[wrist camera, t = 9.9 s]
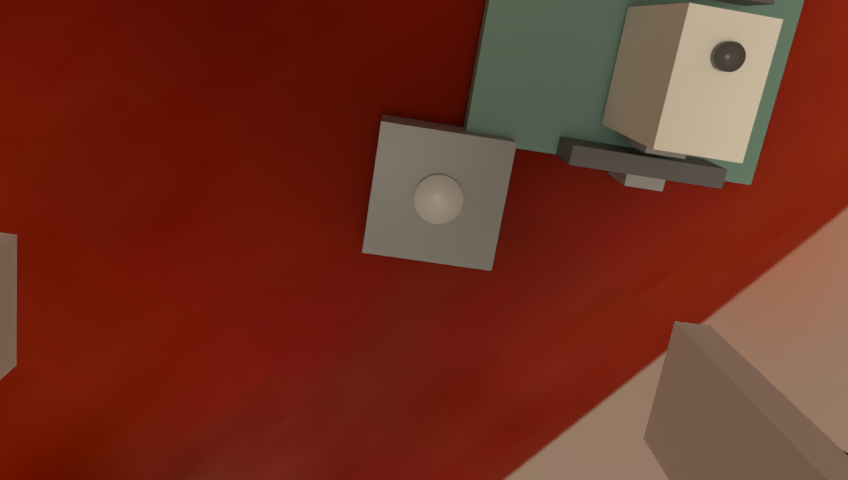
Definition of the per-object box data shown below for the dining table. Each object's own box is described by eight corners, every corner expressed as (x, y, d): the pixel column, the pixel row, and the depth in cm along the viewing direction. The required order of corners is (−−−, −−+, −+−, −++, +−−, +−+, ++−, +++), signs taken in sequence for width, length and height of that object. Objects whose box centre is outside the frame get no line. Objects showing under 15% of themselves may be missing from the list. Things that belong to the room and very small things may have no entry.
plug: (628, 6, 37) (695, 2, 29) (703, 20, 38) (791, 19, 30) (598, 135, 39) (654, 165, 31) (671, 147, 40) (745, 179, 31)
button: (381, 114, 40) (381, 122, 37) (507, 134, 41) (517, 143, 38) (364, 236, 42) (361, 254, 39) (484, 254, 43) (492, 272, 39)
